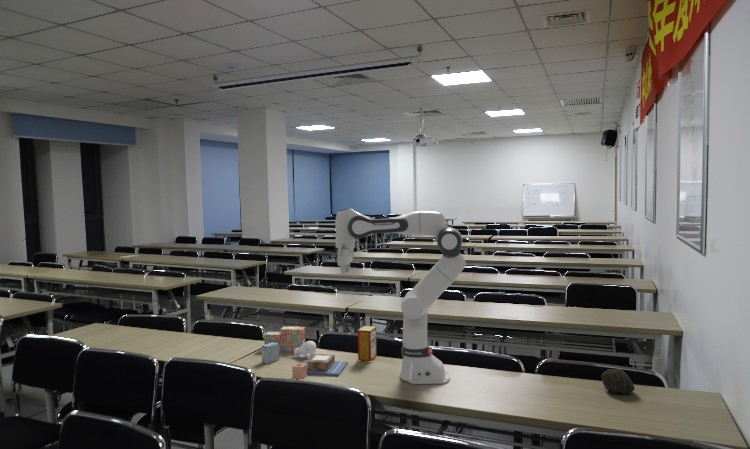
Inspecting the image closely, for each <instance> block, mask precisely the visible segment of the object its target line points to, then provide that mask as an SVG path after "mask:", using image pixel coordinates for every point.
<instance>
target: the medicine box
mask: <svg viewBox="0 0 750 449" xmlns="http://www.w3.org/2000/svg"><path fill="white" fill-rule="evenodd" d="M279 360H280V351H279V344H278V343H275V342H272V343H269V344H266V345H265V344H263V345H261V363H263V364H266V365H268V364H270V363H273V362H277V361H279Z"/></svg>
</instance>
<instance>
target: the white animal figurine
mask: <svg viewBox="0 0 750 449" xmlns="http://www.w3.org/2000/svg"><path fill="white" fill-rule="evenodd" d="M316 350H317V344H316V342H315V341H313V340H307V341H305V343H304V344H303V345H301V346H300V347H299V348H296V349H295V350H294V351H293V353H294V355H295V356H296V357H297V356H298V357H300V356H304V357H307V358H306V360H310V359H311V358H312V357H313V356H314V355H315V354H316ZM308 354H309V355H308Z"/></svg>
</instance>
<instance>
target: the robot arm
mask: <svg viewBox="0 0 750 449" xmlns="http://www.w3.org/2000/svg"><path fill="white" fill-rule="evenodd" d="M446 222H447V221H446V218H445V215H444V214H443V213H441V212H440V211H433V210H432V211H431V210H417V211H410V212H406V213H404V214H400V215H398V216H394V217H389V218H374V219H373V218H372V217H370V216H367V215H365V214H361V213H359V212H357V211H356V210H354V209H353V208H344V209H340V210H338V211H337V213H336V215H335V232H336V233H335V249H336V248H337V249H338V250H337V261H336V262H337V266H338V267H340V273H341V276H346V274H347V273H350V268H351V263H352V262H353V260H354V252H355V251H354V250H355V247H356V246H355V245H356V239H357V240H358V239H359V240H361V239H363V238H366V237H369V236H371V235H374V234H388V233H389V234H390V233H391V234H400V235H405V236H413V237H418V236H421V237H422V236H431V237H434V238H435V239H436V243H437V244H436V245H437V247H438V249H439V251H440V252H441V254H442V255H441V258H440V259H439V260H438V261H437V262H435V264H434V265H433V266H432V268H430V269H429V270H428V271H427V272H426V273H425V275H424V276H422V277H421V279H420V280H419V281H418V282H417V283H416V285H414V286H413V288H412V289H411V290H409V291H407V293H406V294H405V296H404V297H403V298H402V300H401V304H400V309H401V312H402V314H403V318H402V319H403V320H402V323H403V324H402V346H401V357H402V360H401V361H402V363H401V369H400V373H399V378H400V379H401V380H403V381H405V382H407V383H409V384H411V385H424V384H425V385H429V384H430V385H431V384H432V385H435V384H437V385H438V384H440V385H441V384H442V385H443V384H444V385H445V384H447V383H448V382H449V381H450V376H451V375H450V373H449V372H448V371H446V370H445V366H444V363H443V362H442V361H441V360H440V359H438V357H436V356H435V355H433V349H432V346H429V345H428V313H429V312H428V311H429V308H431V307H432V305H433V304H434V303H435V302H436V301H437V300H438V299H439V297H440V296H441V295H442V294H443V293H444V292H446V290H447V289H448V288H449V287H450V286H451V285H452V284H453V283H454V282H455V281H456V280H457V278H458V277H459V276H460V274H462V272H463V270H465V267H466V265H467V262H466V259H465V258H464V256H463V255H462V254H461V253H460V252H461V248H462V245H463V237H462V234H461V232H459V230H458V229H456V228H454V227H452V226H450V225H447V223H446Z"/></svg>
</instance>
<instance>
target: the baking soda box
mask: <svg viewBox="0 0 750 449" xmlns="http://www.w3.org/2000/svg"><path fill="white" fill-rule="evenodd" d="M377 350H378V349H377V326H372V325H364V326H362V327H360V328H358V330H357V357H358V358H357V359H358V360H361V361H360V362H364V361H371V360H372V361H374V359H375V358H374V357H376V356H377ZM373 358H374V359H373ZM376 358H377V357H376ZM358 360H357V361H358ZM372 361H371V362H372Z"/></svg>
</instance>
